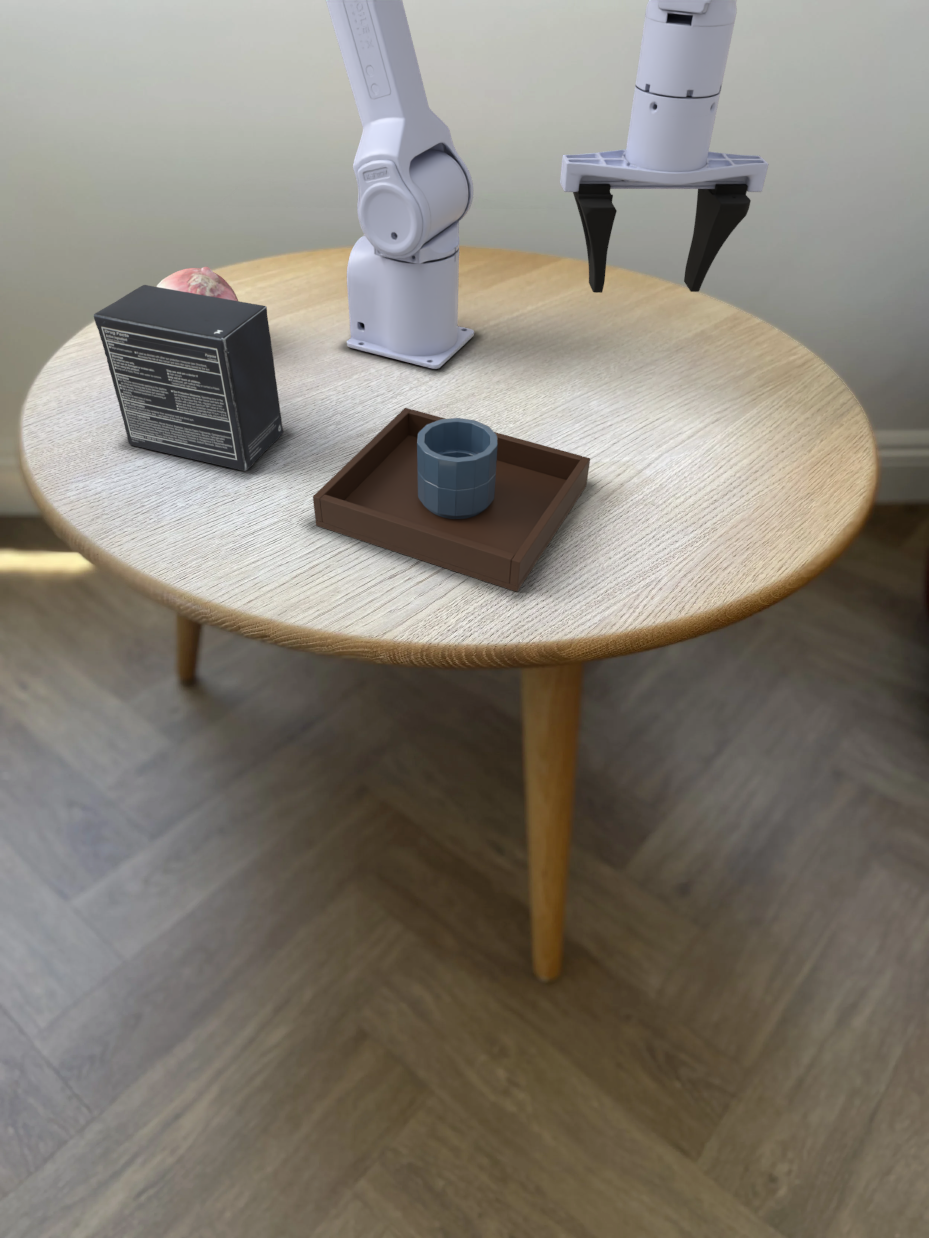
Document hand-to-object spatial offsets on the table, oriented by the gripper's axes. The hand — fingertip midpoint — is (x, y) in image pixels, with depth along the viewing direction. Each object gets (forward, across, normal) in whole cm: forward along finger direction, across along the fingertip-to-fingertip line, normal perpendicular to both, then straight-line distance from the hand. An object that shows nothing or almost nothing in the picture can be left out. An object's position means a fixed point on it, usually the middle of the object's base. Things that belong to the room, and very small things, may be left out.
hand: (643, 287), depth 68 cm
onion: (+10, +37, -10) cm, 39 cm away
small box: (+10, +34, +6) cm, 36 cm away
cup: (+9, +16, +15) cm, 24 cm away
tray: (+9, +16, +15) cm, 24 cm away
